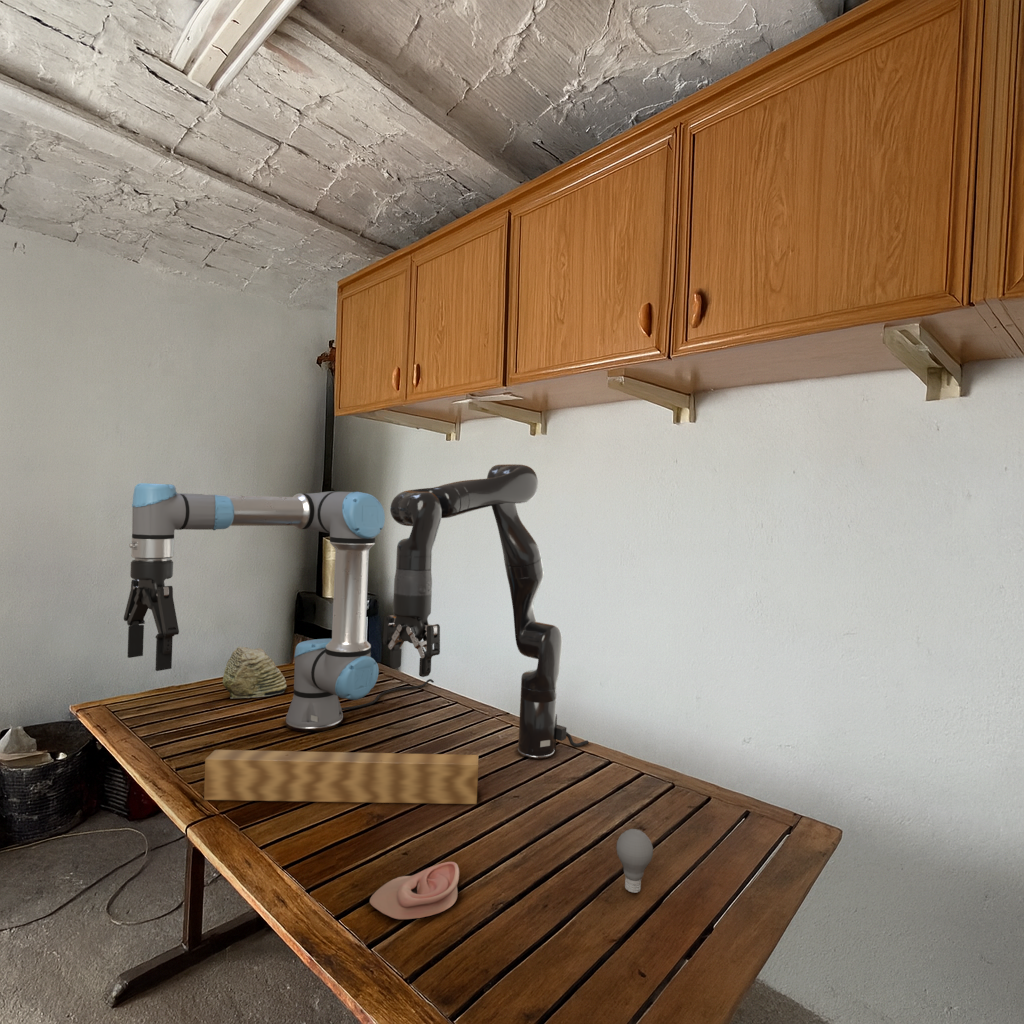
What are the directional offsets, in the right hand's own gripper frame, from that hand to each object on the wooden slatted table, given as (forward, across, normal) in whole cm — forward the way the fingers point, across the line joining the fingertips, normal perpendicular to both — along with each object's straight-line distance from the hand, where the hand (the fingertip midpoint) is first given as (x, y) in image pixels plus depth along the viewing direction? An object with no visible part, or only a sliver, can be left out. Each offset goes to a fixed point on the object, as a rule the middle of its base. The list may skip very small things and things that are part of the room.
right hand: (409, 671), depth 127 cm
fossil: (+29, +90, -18) cm, 96 cm away
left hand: (+1, +43, +32) cm, 54 cm away
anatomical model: (+29, -21, +16) cm, 40 cm away
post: (+29, +15, +3) cm, 33 cm away
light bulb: (+29, -46, -10) cm, 56 cm away
